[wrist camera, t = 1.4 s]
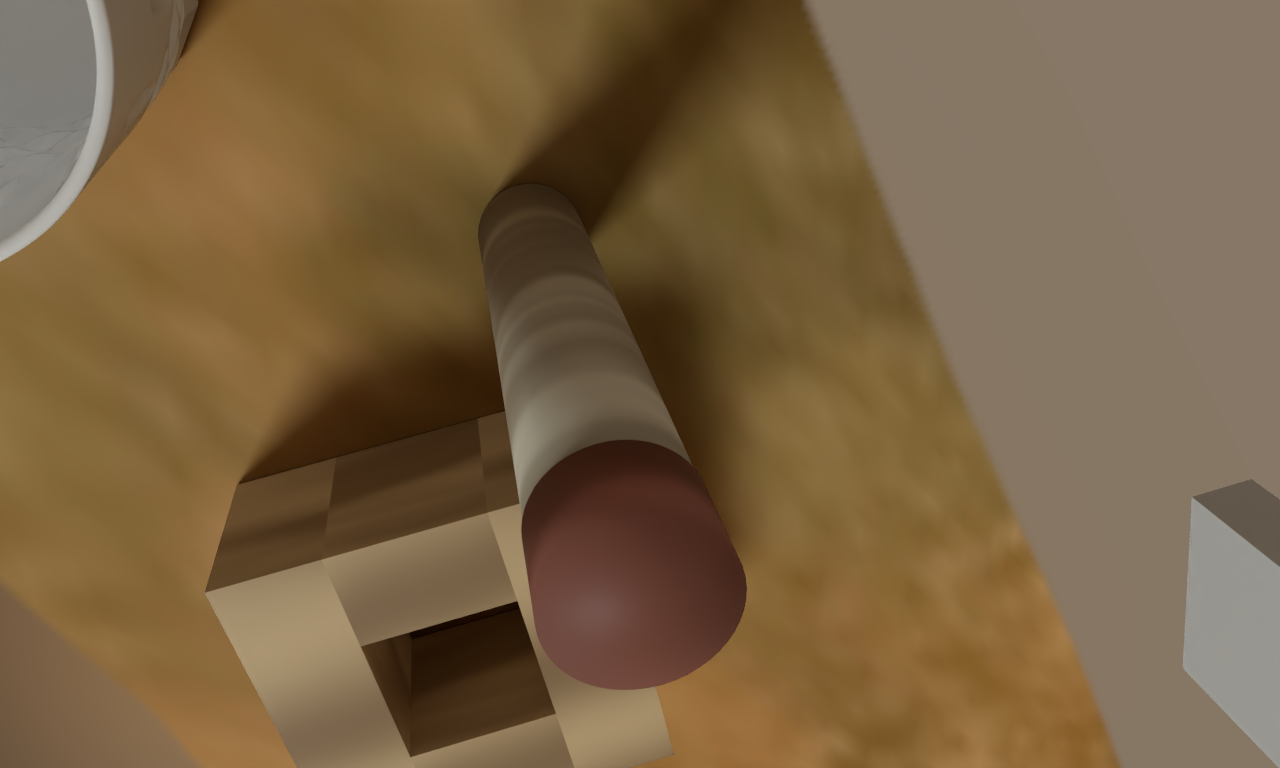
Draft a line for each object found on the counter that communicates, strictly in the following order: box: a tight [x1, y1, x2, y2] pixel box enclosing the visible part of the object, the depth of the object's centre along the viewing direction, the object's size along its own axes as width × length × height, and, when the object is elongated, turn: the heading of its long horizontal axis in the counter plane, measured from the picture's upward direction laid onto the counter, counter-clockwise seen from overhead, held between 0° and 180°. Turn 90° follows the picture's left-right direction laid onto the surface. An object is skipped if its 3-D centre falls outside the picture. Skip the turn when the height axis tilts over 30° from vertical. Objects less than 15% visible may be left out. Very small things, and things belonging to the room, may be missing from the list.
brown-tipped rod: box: [478, 183, 747, 690], centre depth 21 cm, size 3×3×16 cm
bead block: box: [205, 411, 674, 768], centre depth 30 cm, size 10×10×5 cm
